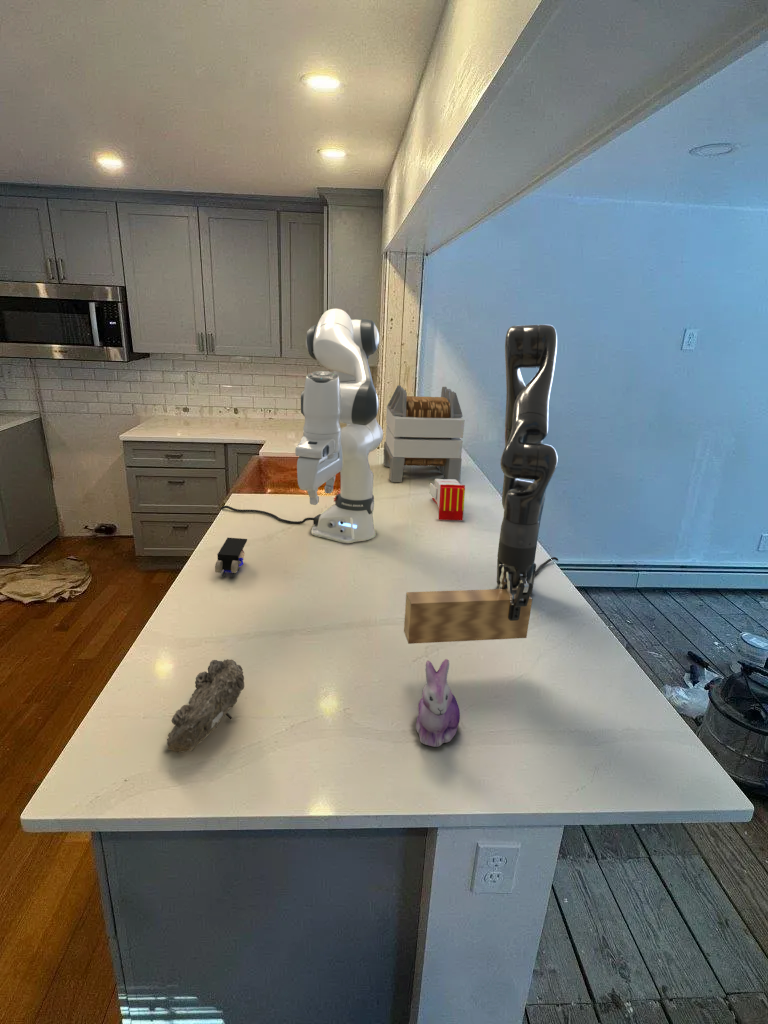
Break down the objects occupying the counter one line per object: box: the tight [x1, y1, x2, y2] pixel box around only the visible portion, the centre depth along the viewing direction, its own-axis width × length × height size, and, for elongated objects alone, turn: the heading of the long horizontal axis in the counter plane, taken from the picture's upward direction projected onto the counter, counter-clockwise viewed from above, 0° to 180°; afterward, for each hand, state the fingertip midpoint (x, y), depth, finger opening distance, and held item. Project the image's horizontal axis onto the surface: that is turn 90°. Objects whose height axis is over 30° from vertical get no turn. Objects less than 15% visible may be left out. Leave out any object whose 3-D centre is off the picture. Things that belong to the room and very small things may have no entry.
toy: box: [428, 478, 466, 521], centre depth 226 cm, size 12×13×30 cm
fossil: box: [166, 658, 245, 754], centre depth 106 cm, size 22×10×15 cm
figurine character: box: [214, 537, 248, 578], centre depth 166 cm, size 7×8×15 cm
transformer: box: [383, 384, 465, 483], centre depth 268 cm, size 34×33×41 cm
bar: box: [403, 588, 533, 645], centre depth 120 cm, size 26×5×9 cm, turn 99°
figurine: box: [415, 658, 461, 748], centre depth 104 cm, size 9×10×15 cm
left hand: (321, 498), depth 139 cm, fingers open, 8 cm apart
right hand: (508, 612), depth 121 cm, fingers closed on bar, 5 cm apart
